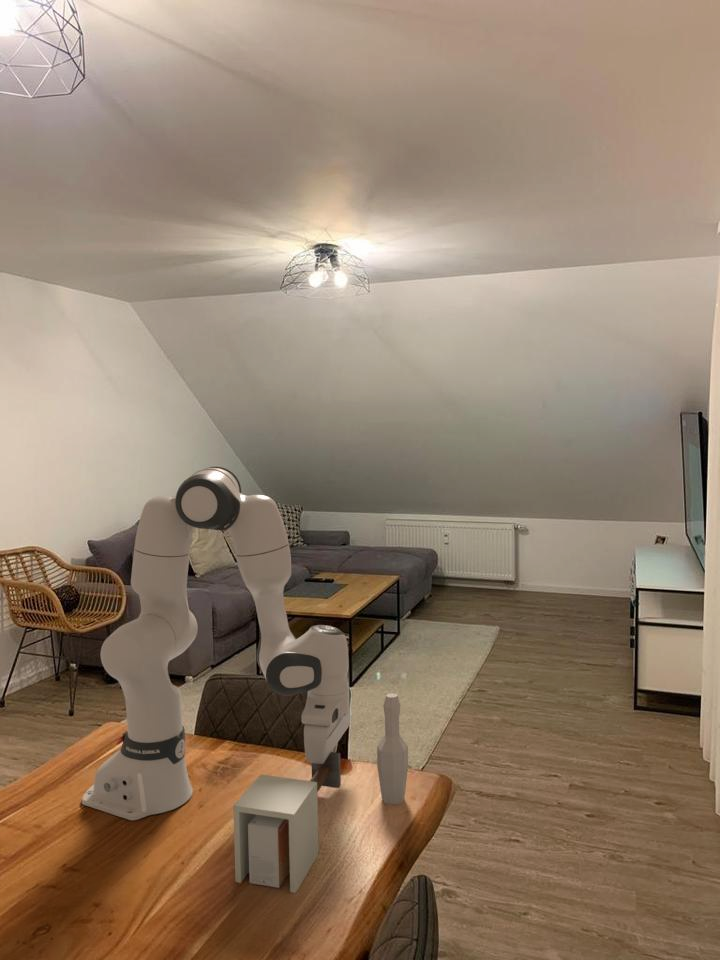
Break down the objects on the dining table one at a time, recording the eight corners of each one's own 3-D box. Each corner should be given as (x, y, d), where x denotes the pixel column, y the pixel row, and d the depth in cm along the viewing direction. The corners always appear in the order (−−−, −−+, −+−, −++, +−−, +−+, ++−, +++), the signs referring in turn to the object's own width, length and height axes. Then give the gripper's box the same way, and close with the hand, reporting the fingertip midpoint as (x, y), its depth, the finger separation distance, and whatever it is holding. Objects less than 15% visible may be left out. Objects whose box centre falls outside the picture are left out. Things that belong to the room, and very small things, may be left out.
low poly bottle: (377, 791, 148) (376, 689, 146) (407, 791, 148) (406, 689, 146) (377, 807, 142) (376, 701, 140) (409, 807, 141) (407, 701, 140)
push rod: (268, 845, 125) (267, 808, 125) (313, 781, 148) (313, 749, 148) (299, 851, 124) (298, 812, 123) (340, 785, 147) (340, 753, 146)
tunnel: (235, 881, 119) (233, 805, 118) (262, 845, 129) (260, 774, 128) (295, 893, 115) (294, 814, 115) (318, 854, 126) (317, 782, 125)
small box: (279, 889, 116) (277, 829, 116) (248, 884, 118) (246, 824, 117) (296, 861, 124) (295, 804, 123) (267, 856, 126) (266, 799, 125)
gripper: (329, 683, 159) (330, 741, 160) (298, 719, 140) (299, 785, 141) (356, 685, 158) (357, 744, 159) (328, 722, 138) (329, 789, 139)
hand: (330, 764), depth 149 cm, fingers closed
